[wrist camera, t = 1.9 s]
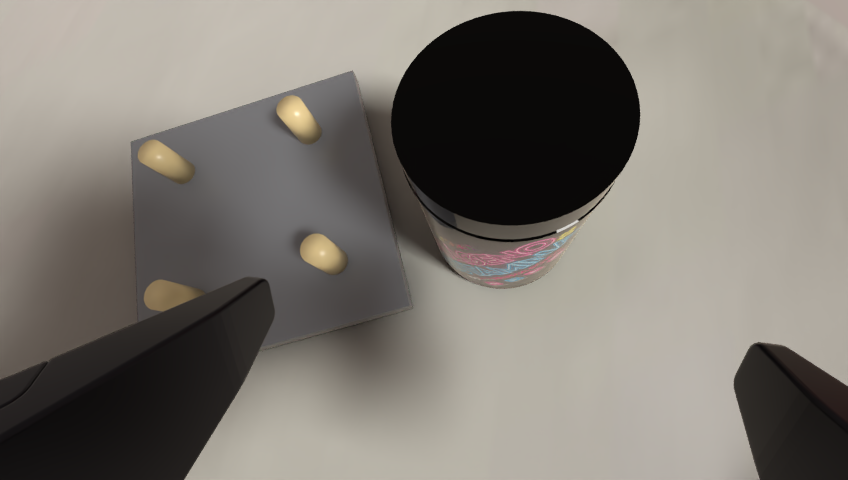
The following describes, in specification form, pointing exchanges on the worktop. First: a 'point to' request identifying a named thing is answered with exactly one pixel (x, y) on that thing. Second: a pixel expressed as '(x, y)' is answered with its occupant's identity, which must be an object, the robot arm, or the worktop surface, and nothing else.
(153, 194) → the plate
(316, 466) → the worktop surface
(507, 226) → the supplement container
